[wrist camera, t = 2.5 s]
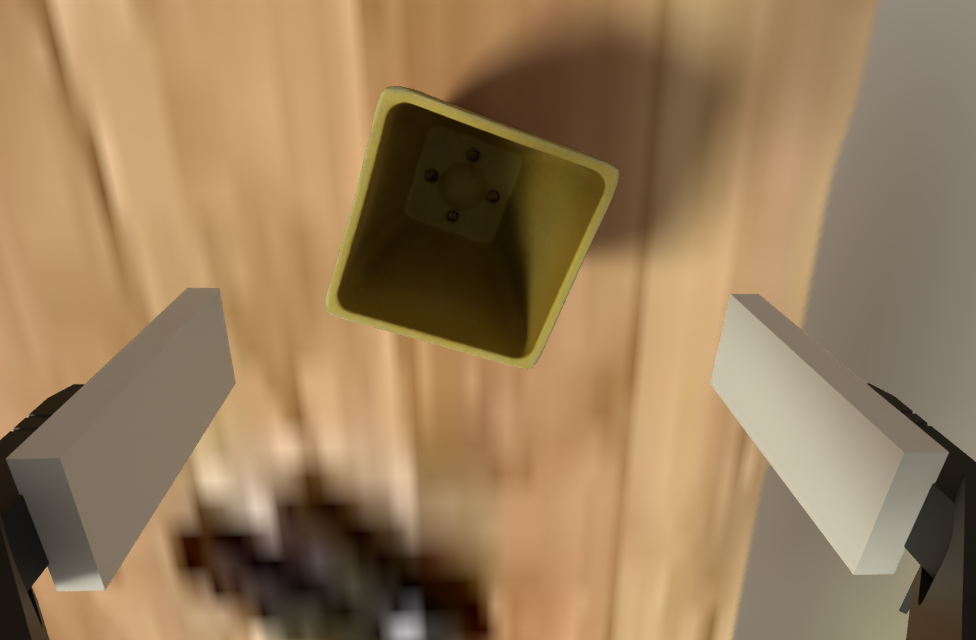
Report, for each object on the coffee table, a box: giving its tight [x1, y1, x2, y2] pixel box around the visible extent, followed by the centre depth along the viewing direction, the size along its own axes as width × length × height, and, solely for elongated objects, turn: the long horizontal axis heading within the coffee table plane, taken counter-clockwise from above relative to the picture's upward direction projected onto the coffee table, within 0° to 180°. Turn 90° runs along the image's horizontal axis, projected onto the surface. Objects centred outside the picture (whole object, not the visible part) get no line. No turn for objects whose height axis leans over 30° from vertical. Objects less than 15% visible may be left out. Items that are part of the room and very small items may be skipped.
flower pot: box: [325, 86, 619, 369], centre depth 26 cm, size 9×9×9 cm
